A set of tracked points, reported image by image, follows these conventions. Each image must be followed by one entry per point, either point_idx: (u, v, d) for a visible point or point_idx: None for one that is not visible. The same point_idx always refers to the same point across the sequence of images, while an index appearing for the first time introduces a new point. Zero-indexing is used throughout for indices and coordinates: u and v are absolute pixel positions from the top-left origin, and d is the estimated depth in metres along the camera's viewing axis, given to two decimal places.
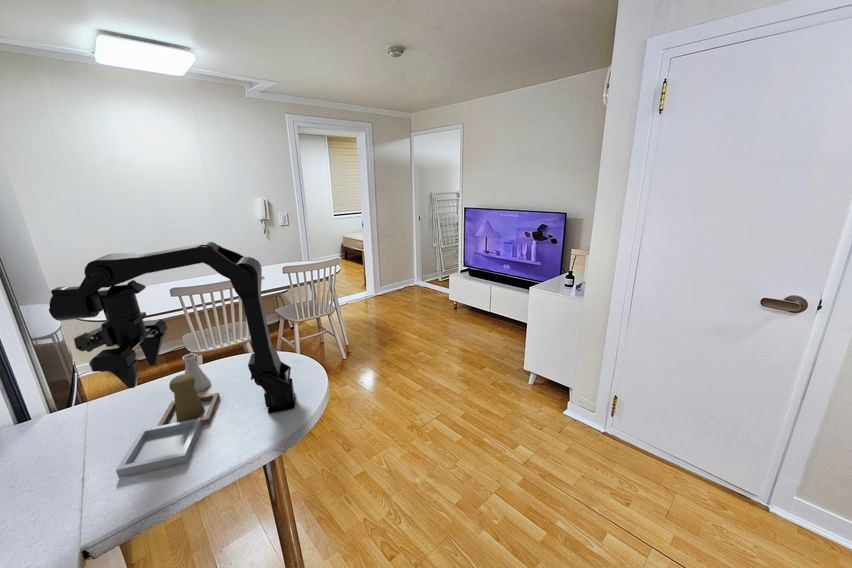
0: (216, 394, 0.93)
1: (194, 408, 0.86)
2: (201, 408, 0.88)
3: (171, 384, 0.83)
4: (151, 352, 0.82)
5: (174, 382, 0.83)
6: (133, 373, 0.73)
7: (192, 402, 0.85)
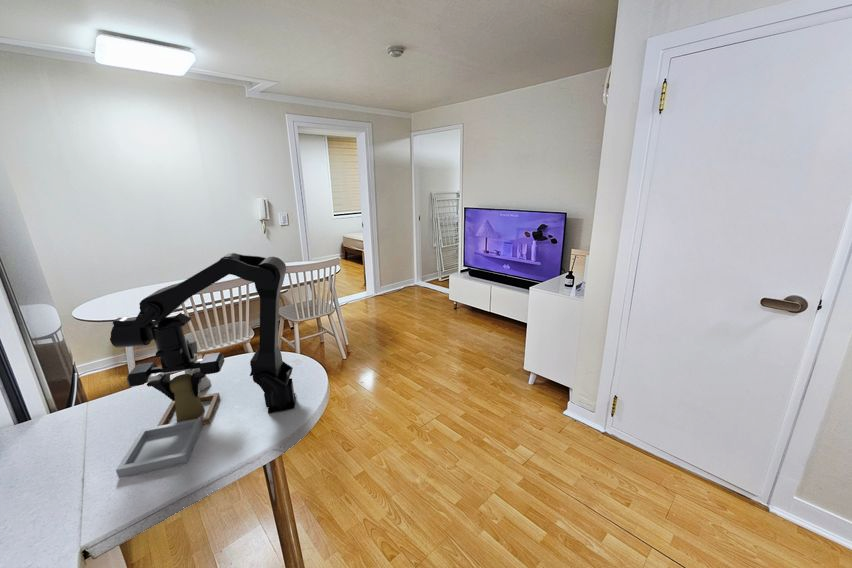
0: (216, 394, 0.93)
1: (194, 408, 0.86)
2: (201, 408, 0.88)
3: (171, 384, 0.83)
4: None
5: (174, 382, 0.83)
6: None
7: (192, 402, 0.85)
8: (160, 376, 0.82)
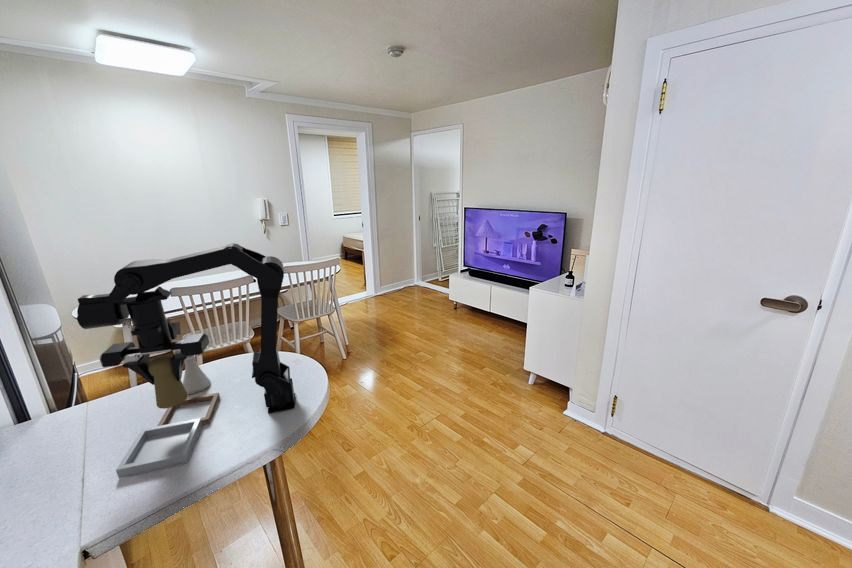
0: (216, 394, 0.93)
1: (176, 393, 0.79)
2: (184, 393, 0.81)
3: (150, 366, 0.76)
4: None
5: (153, 363, 0.76)
6: None
7: (173, 387, 0.78)
8: (137, 357, 0.75)
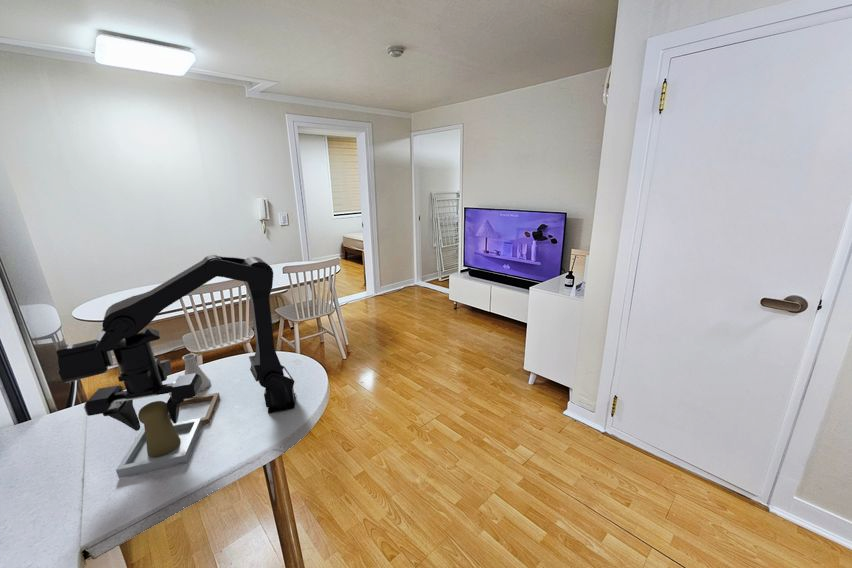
0: (216, 394, 0.93)
1: (168, 440, 0.75)
2: (176, 439, 0.77)
3: (140, 414, 0.72)
4: None
5: (143, 411, 0.72)
6: None
7: (166, 434, 0.74)
8: (119, 403, 0.70)
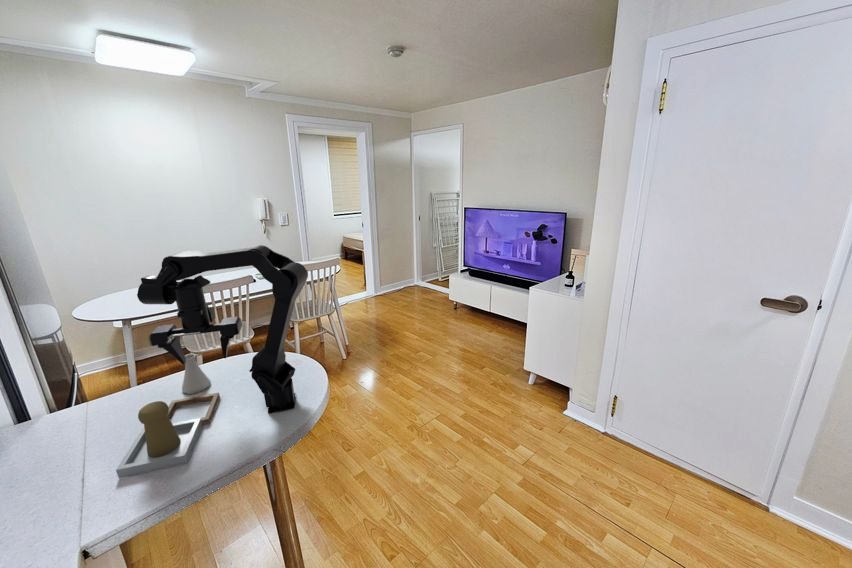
0: (216, 394, 0.93)
1: (168, 440, 0.75)
2: (176, 440, 0.77)
3: (140, 414, 0.72)
4: None
5: (143, 412, 0.72)
6: (171, 353, 0.83)
7: (166, 434, 0.74)
8: (170, 338, 0.83)
